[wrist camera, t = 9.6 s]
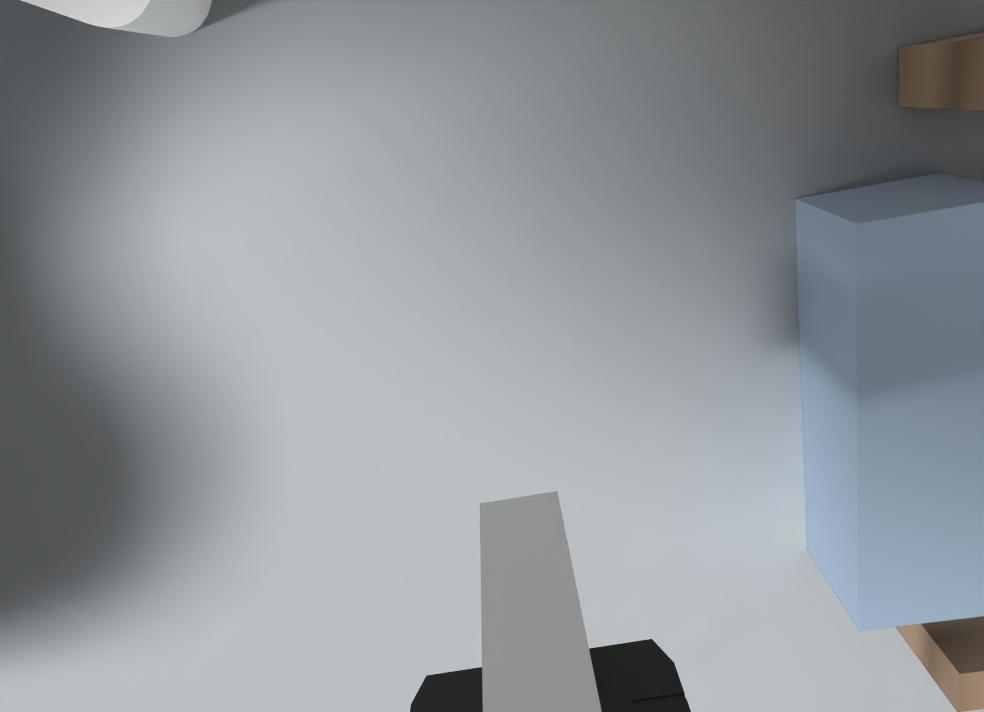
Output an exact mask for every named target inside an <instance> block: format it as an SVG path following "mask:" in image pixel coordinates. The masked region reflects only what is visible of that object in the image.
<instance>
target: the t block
mask: <svg viewBox="0 0 984 712" xmlns="http://www.w3.org/2000/svg"><path fill="white" fill-rule="evenodd" d="M795 221H796V250H797V280H798V309H799V338H800V368H801V397H802V426H803V456H804V485H805V514H806V544H807V550H808V552H809V553H810V555H811V556H812V558H813V560H814V561H815V563H816V564H817V566H818V567H819V569H820V571H821V572H822V574H823V575H824V577H825V579H826V580H827V582H828V583H829V585H830V587H831V588H832V590H833V591H834V593H835V594H836V596H837V598H838V599H839V601H840V602H841V604H842V606H843V607H844V609H845V610H846V612H847V614H848V615H849V617H850V618H851V620H852V621H853V623H854V625H855V626H856V628H857V629H858V631H863V630H872V629H880V628H889V627H897V626H905V625H914V624H922V623H930V622H939V621H947V620H955V619H964V618H972V617H980V616H984V182H981V181H976V180H972V179H967V178H962V177H957V176H952V175H948V174H943V173H937V174H931V175H925V176H920V177H914V178H908V179H903V180H897V181H891V182H886V183H880V184H875V185H869V186H863V187H858V188H852V189H846V190H841V191H835V192H830V193H824V194H818V195H813V196H807V197H801V198H796V199H795Z"/></svg>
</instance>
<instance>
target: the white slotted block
mask: <svg viewBox="0 0 984 712" xmlns="http://www.w3.org/2000/svg"><path fill="white" fill-rule="evenodd" d="M21 1H24V2H27V3H30V4H33V5H36V6H38V7H41V8H44V9H47V10H50V11H53V12H56V13H59V14H62V15H64V16H67V17H70V18H73V19H76V20H79V21H82V22H85V23H87V24H90V25H94V26H99V27H104V28H110V29H117V30H124V31H131V32H138V33H145V34H152V35H158V36H165V37H180V36H184V35H187V34H189V33H192V32H193V31H195V30H196V29H197V28H198V27H199V26H201V25H202V23H203V22H204V20H205V19H206V17H207V16H208V13H209V10H210V7H211V4H212V0H21Z"/></svg>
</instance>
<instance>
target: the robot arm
mask: <svg viewBox="0 0 984 712" xmlns="http://www.w3.org/2000/svg"><path fill="white" fill-rule="evenodd" d="M480 543H481V616H482V667H480V668H474V669H467V670H460V671H454V672H447V673H441V674H434V675H428V676H426V678H425V680H424V682H423V683H422V685H421V687H420V689H419V691H418V693H417V694H416V696H415V698H414V700H413V702H412V704H411V709H410V712H691V711H690V708H689V705H688V702H687V699H686V698H685V694H684V691H683V688H682V685H681V682H680V679H679V676H678V673H677V670H676V667H675V664H674V662H673V661H672V660H671V659H670V658H669V657H668V656H667V655H666V654H665V653H664V652H663V651H662V650H661V648H660V647H659V646H658V645H657V644H656V643H655V642H654V641H653V640H652V639H649V640H642V641H636V642H629V643H623V644H616V645H610V646H603V647H597V648H590V649H589V647H588V642H587V637H586V632H585V627H584V622H583V617H582V612H581V607H580V602H579V597H578V592H577V587H576V582H575V577H574V572H573V568H572V563H571V558H570V553H569V548H568V543H567V538H566V533H565V528H564V523H563V518H562V513H561V508H560V503H559V498H558V493H557V491H556V492H550V493H543V494H537V495H531V496H525V497H519V498H513V499H507V500H500V501H494V502H488V503H482V504H480Z"/></svg>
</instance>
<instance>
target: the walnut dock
mask: <svg viewBox="0 0 984 712" xmlns="http://www.w3.org/2000/svg"><path fill="white" fill-rule="evenodd" d="M898 107H913V108H931V109H950V110H969V111H984V31H983V32H977V33H972V34H967V35H962V36H956V37H951V38H946V39H941V40H935V41H930V42H925V43H920V44H915V45H909V46H904V47H899V86H898ZM896 628H897V630H898V631H899V632H900V634H901V635H902V637H903V638H904V639H905V641H906V642H907V643H908V645H909V646H910V648H911V649H912V650H913V652H914V653H915V654H916V656H917V657H918V659H919V660H920V661H921V663H922V664H923V665H924V667H925V668H926V670H927V671H928V672H929V674H930V675H931V676H932V678H933V679H934V681H935V682H936V683H937V685H938V686H939V687H940V689H941V690H942V692H943V693H944V694H945V696H946V697H947V698H948V700H949V701H950V703H951V704H952V705H953V707H954V708H955V709H956V711H957V712H962V711H970V710H978V709H984V616H980V617H972V618H964V619H955V620H947V621H939V622H930V623H922V624H914V625H905V626H897V627H896Z"/></svg>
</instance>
